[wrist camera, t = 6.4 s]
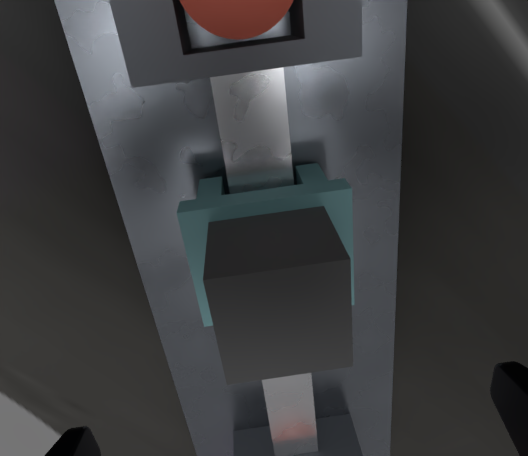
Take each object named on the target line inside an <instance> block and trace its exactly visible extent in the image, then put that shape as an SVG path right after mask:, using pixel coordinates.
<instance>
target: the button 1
mask: <svg viewBox="0 0 528 456" xmlns="http://www.w3.org/2000/svg"><path fill="white" fill-rule="evenodd" d="M180 2H181V4H182V6H183V7H184V9H185V10H186V12H187V13H188V14H189V15H190V17H191V18H192V19H193V20H194V21H195V22H196V23H197V24H198V25H200V26H201V27H202V28H204V29H205V30H207V31H209V32H210V33H212V34H214V35H217V36H220V37H223V38H227V39H237V40H238V39H248V38H253V37H256V36H258V35H261V34H263V33H265V32H266V31H268V30H270V29H271V28H272V27H274V26H275V25H276V24H277V23H278V22H279V21H280V20H281V19H282V18H283V17H284V15H285V14H286V13H287V11H288V10H289V8H290V6H291V4H292V2H293V0H180Z"/></svg>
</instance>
